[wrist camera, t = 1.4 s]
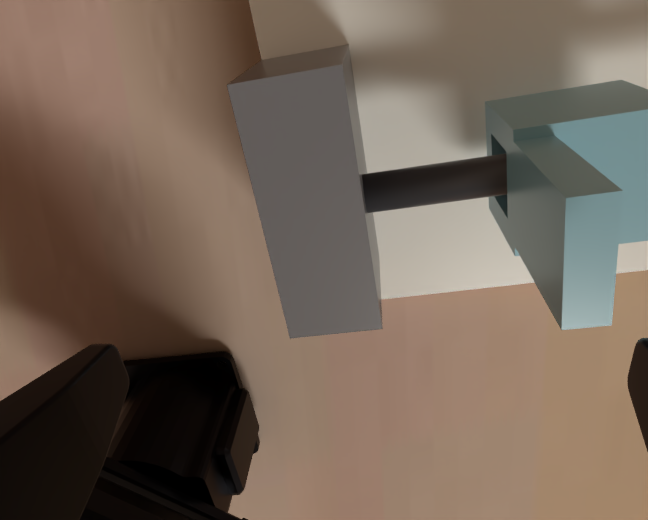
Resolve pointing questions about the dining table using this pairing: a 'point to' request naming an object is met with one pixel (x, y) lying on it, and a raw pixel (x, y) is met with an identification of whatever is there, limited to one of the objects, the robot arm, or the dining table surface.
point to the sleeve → (573, 190)
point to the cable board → (405, 139)
